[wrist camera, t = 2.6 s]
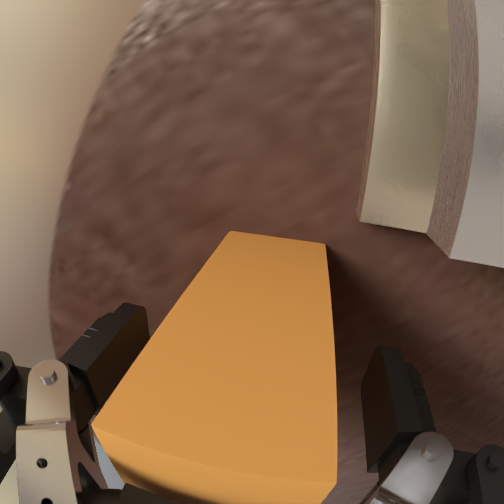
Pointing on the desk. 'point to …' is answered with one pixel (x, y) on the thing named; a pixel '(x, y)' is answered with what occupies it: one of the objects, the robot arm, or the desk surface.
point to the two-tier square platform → (438, 125)
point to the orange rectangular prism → (235, 384)
